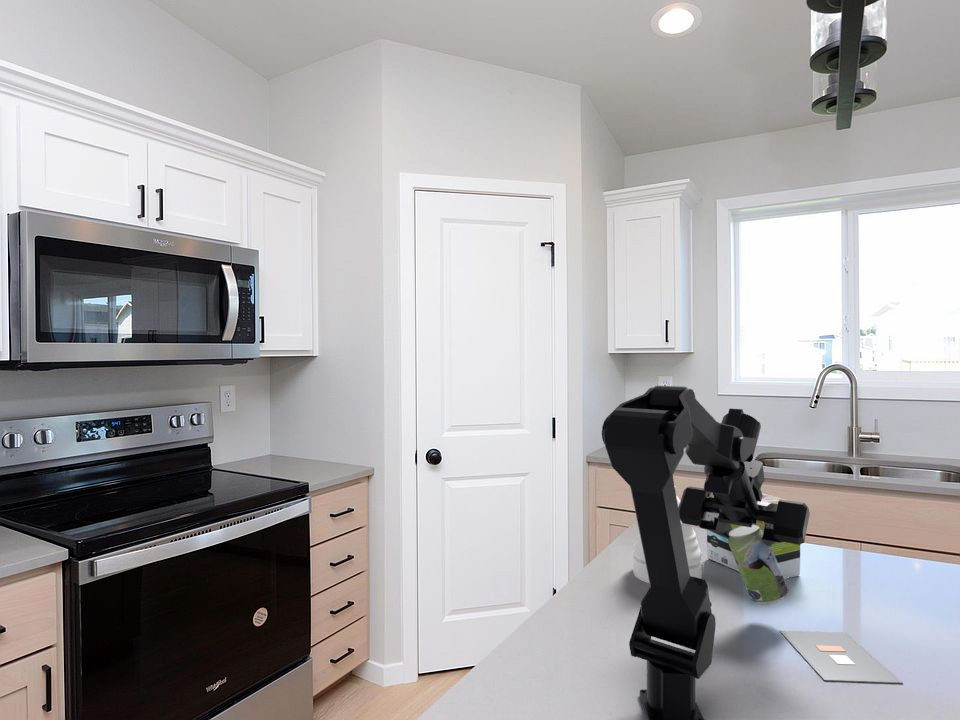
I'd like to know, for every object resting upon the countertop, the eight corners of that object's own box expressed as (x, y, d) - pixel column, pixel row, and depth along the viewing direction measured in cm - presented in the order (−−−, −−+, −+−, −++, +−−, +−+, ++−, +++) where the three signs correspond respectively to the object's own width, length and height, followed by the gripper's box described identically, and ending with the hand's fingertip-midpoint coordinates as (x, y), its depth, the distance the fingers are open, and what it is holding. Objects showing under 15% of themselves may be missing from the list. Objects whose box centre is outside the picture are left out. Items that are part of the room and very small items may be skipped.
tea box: (704, 559, 126) (705, 489, 126) (739, 552, 130) (739, 485, 130) (765, 585, 112) (766, 506, 112) (802, 576, 117) (802, 501, 116)
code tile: (902, 683, 79) (902, 681, 79) (824, 680, 80) (824, 679, 80) (846, 633, 93) (846, 632, 93) (779, 631, 94) (779, 630, 94)
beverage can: (798, 600, 95) (781, 525, 96) (757, 612, 94) (739, 535, 94) (773, 589, 101) (757, 518, 102) (734, 600, 100) (718, 528, 101)
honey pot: (708, 590, 110) (708, 492, 110) (636, 585, 112) (636, 490, 112) (695, 565, 123) (695, 477, 123) (630, 561, 125) (630, 475, 125)
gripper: (807, 451, 90) (821, 510, 98) (684, 439, 101) (706, 492, 110) (795, 514, 84) (810, 571, 92) (665, 494, 95) (690, 546, 104)
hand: (750, 541), depth 100 cm, fingers closed on beverage can, 6 cm apart
